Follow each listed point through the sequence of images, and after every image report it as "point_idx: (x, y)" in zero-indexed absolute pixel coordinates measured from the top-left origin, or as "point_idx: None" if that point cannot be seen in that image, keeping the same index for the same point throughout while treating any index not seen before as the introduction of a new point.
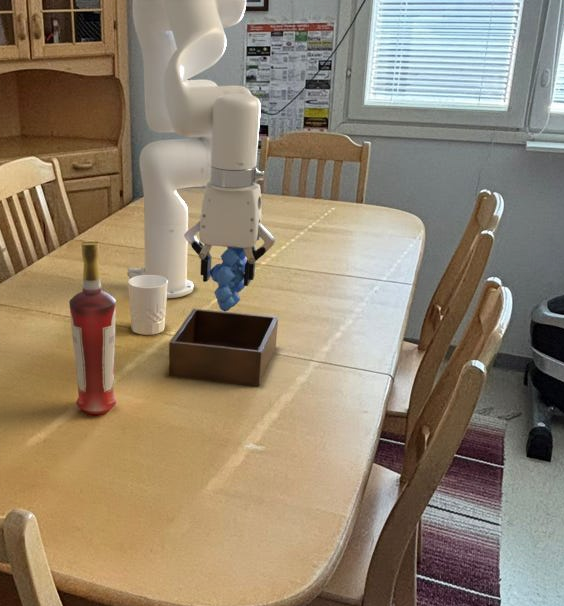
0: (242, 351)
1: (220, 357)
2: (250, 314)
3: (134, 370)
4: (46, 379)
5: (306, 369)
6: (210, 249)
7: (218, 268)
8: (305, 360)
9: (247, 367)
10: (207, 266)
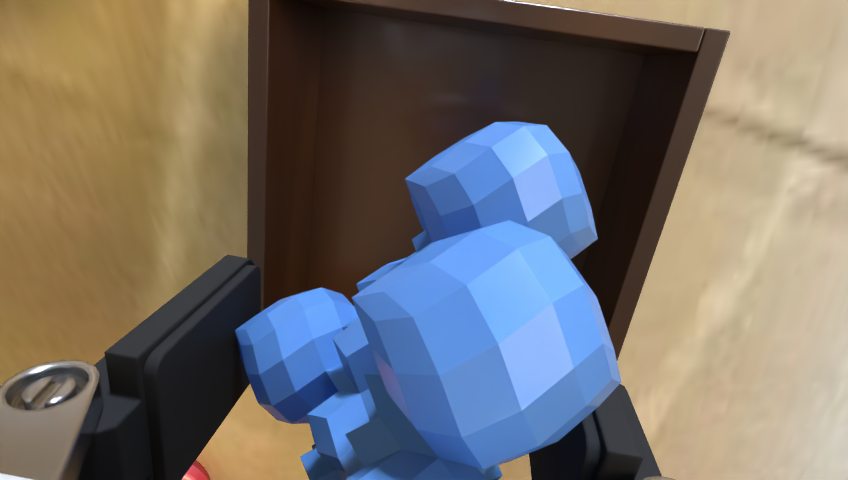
0: None
1: None
2: (568, 15)
3: (191, 277)
4: (3, 344)
5: (756, 226)
6: (84, 421)
7: (298, 421)
8: (773, 144)
9: None
10: (198, 455)
